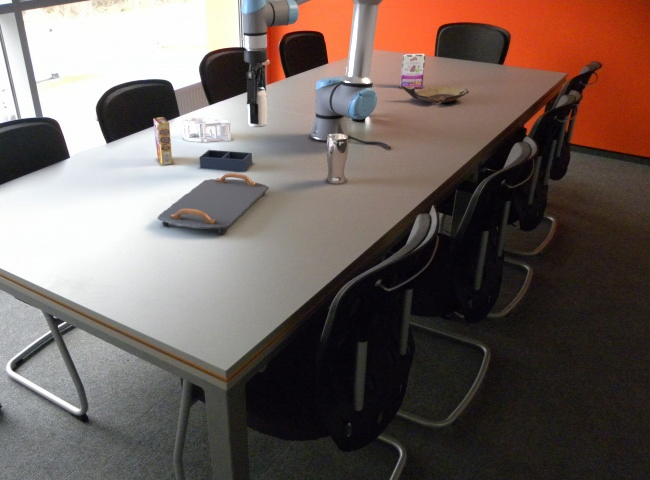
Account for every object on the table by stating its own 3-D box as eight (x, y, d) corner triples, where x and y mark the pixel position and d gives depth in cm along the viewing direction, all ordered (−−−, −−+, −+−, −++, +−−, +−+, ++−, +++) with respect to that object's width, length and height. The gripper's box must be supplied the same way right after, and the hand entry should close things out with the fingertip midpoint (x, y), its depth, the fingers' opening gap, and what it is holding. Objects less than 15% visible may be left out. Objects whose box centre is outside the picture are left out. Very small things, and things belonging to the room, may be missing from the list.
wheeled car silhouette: (236, 136, 252) (235, 119, 248) (224, 144, 244) (223, 126, 240) (194, 132, 260) (192, 115, 256) (181, 140, 251) (179, 122, 247)
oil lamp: (461, 109, 278) (463, 91, 274) (396, 103, 291) (398, 87, 287) (471, 98, 295) (473, 81, 291) (410, 93, 307) (411, 77, 303)
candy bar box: (421, 86, 321) (425, 53, 312) (422, 88, 316) (425, 54, 308) (399, 86, 322) (402, 53, 314) (400, 88, 318) (403, 55, 310)
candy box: (173, 163, 225) (169, 122, 217) (162, 165, 224) (157, 123, 216) (168, 157, 232) (163, 116, 224) (157, 158, 231) (152, 118, 223)
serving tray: (224, 240, 167) (223, 219, 164) (151, 230, 175) (148, 209, 171) (273, 191, 197) (273, 173, 194) (209, 184, 205) (208, 166, 202)
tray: (252, 163, 222) (251, 152, 220) (244, 171, 215) (243, 160, 213) (209, 160, 227) (208, 149, 225) (200, 168, 220) (199, 157, 218)
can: (265, 127, 206) (264, 91, 200) (246, 127, 207) (245, 90, 201) (268, 122, 211) (267, 86, 205) (250, 122, 213) (249, 86, 206)
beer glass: (348, 178, 206) (350, 133, 198) (344, 185, 200) (346, 140, 192) (328, 176, 208) (329, 132, 200) (323, 183, 202) (324, 138, 195)
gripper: (253, 44, 206) (255, 113, 217) (234, 53, 190) (238, 127, 202) (274, 44, 204) (275, 114, 215) (257, 54, 188) (259, 129, 200)
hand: (257, 120), depth 208 cm, fingers closed on can, 6 cm apart
